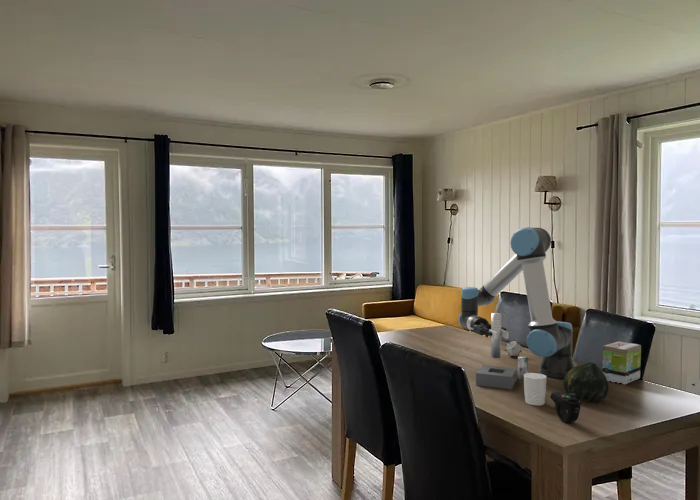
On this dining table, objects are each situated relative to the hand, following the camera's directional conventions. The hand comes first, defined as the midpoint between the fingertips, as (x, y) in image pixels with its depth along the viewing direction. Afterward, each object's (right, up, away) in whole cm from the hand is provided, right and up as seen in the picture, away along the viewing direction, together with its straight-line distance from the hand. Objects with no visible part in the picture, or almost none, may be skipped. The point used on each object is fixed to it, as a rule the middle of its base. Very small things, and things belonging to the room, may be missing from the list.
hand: (502, 335), depth 213 cm
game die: (+20, -19, +51) cm, 58 cm away
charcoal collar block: (-1, -20, +6) cm, 21 cm away
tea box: (+53, -20, +11) cm, 58 cm away
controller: (+10, -22, -38) cm, 45 cm away
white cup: (+6, -22, -19) cm, 30 cm away
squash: (+27, -21, -16) cm, 38 cm away
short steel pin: (+12, -20, +12) cm, 27 cm away
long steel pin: (-1, -10, +6) cm, 11 cm away
